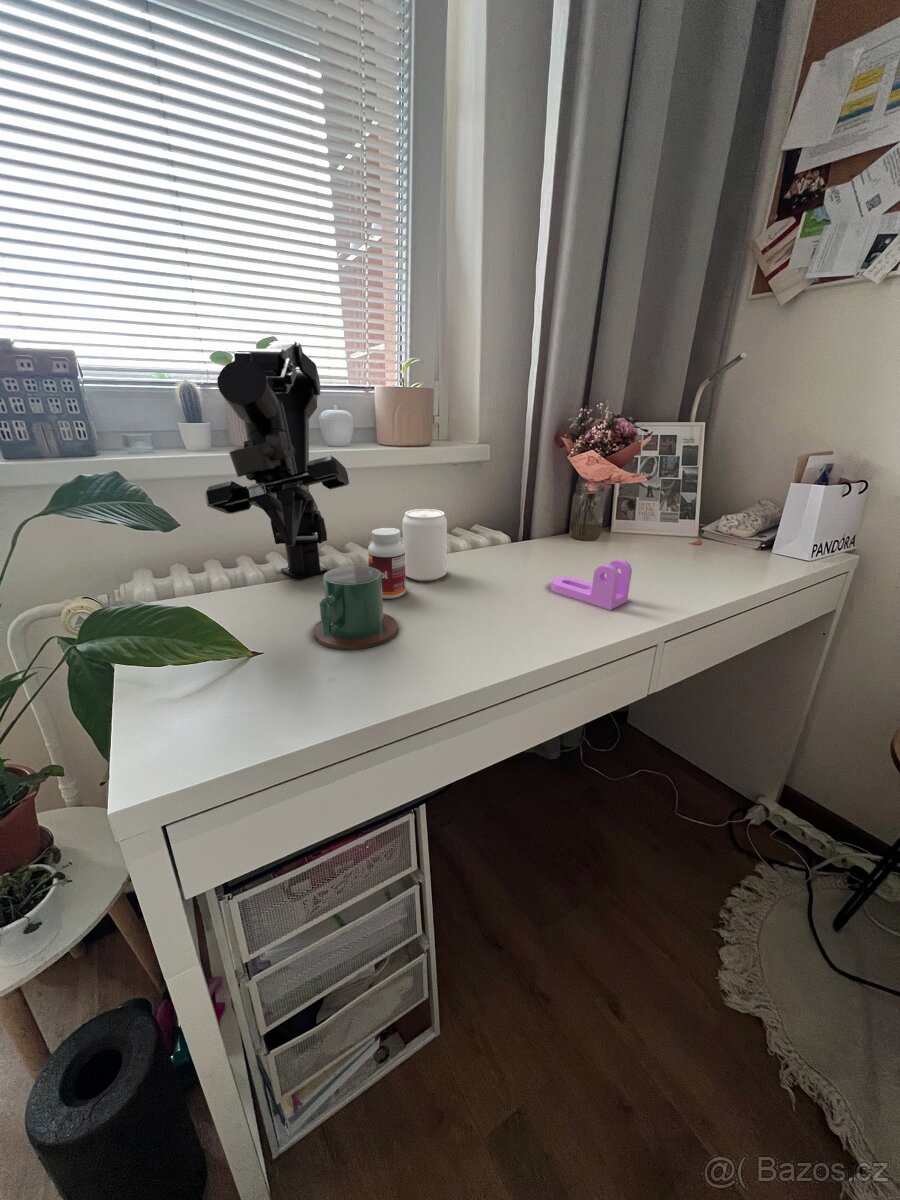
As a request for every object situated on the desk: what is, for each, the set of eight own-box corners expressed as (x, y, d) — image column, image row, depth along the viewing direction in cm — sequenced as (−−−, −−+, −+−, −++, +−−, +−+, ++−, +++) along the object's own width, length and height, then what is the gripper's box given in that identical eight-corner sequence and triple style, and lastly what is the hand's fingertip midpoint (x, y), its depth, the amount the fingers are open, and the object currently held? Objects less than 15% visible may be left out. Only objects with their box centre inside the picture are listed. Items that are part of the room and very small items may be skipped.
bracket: (627, 601, 85) (633, 562, 82) (610, 610, 81) (616, 569, 79) (562, 581, 94) (566, 545, 91) (544, 588, 90) (547, 551, 87)
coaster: (297, 630, 73) (297, 627, 73) (363, 607, 81) (363, 604, 81) (347, 658, 65) (347, 654, 65) (414, 629, 74) (414, 626, 73)
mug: (346, 612, 78) (342, 562, 75) (393, 620, 75) (391, 569, 72) (300, 645, 67) (293, 589, 64) (352, 655, 65) (348, 598, 62)
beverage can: (448, 569, 99) (449, 509, 95) (443, 583, 92) (444, 518, 87) (407, 567, 100) (406, 507, 95) (400, 581, 93) (398, 517, 88)
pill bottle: (362, 593, 87) (358, 531, 83) (388, 584, 91) (386, 524, 87) (387, 602, 83) (384, 537, 79) (413, 592, 87) (412, 530, 83)
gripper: (169, 433, 63) (193, 553, 62) (310, 396, 62) (336, 519, 61) (218, 460, 74) (238, 563, 74) (338, 429, 73) (361, 534, 72)
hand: (290, 545), depth 70 cm, fingers closed
